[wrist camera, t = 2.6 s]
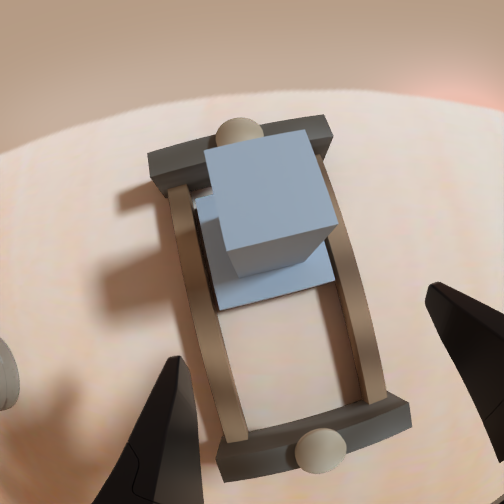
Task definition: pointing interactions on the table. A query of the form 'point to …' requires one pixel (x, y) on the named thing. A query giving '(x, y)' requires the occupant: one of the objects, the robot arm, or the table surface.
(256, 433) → the track
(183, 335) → the table surface
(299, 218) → the carriage
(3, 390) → the thermos bottle
